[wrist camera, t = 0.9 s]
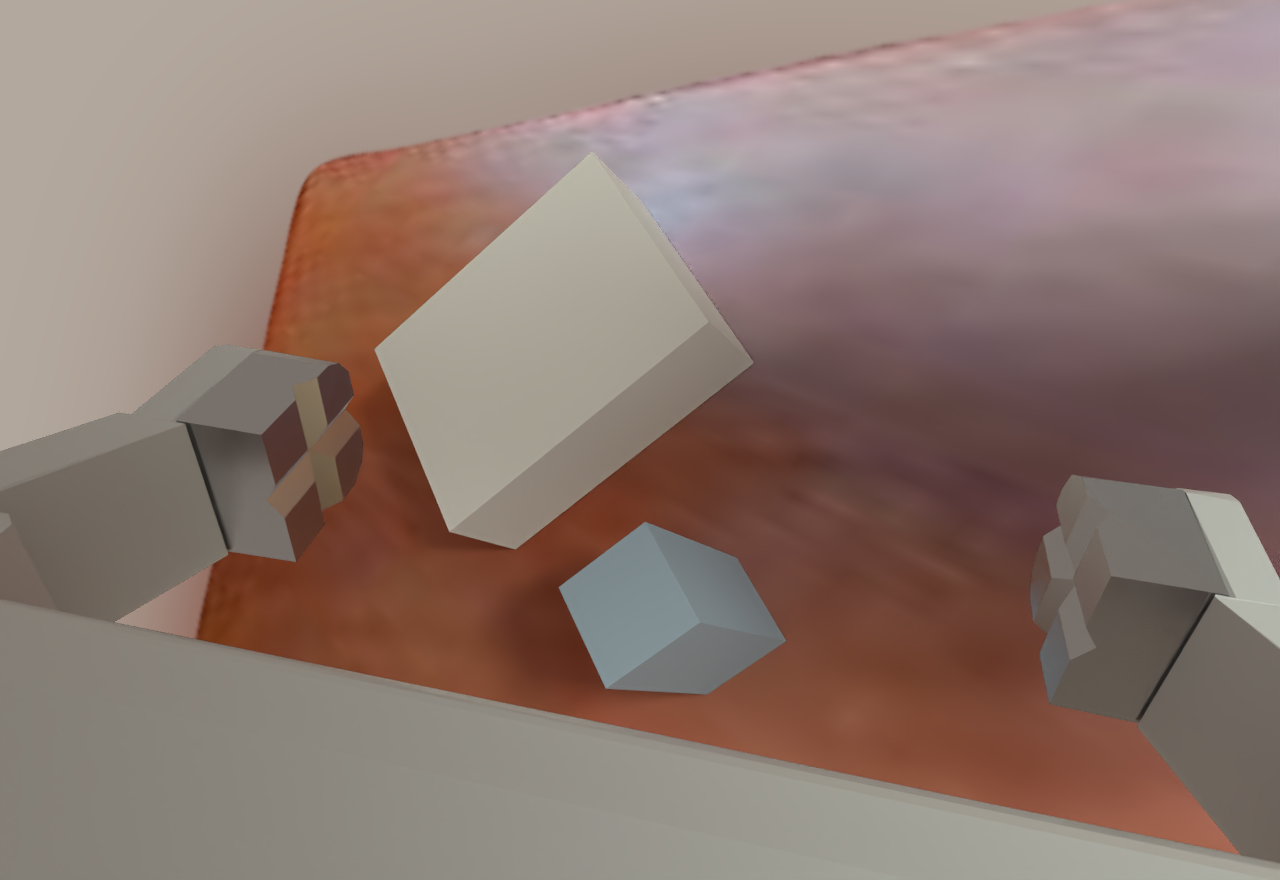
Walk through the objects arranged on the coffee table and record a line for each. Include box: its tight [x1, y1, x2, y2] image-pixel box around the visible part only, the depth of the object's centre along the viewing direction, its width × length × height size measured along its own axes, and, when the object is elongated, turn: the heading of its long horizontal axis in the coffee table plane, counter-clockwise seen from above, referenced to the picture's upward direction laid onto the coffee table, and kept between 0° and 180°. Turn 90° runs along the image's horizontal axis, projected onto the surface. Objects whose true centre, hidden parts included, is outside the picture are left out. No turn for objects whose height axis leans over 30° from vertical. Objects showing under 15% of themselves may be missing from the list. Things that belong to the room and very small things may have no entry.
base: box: [374, 152, 754, 550], centre depth 52 cm, size 18×14×6 cm
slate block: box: [559, 522, 786, 694], centre depth 42 cm, size 5×5×10 cm
